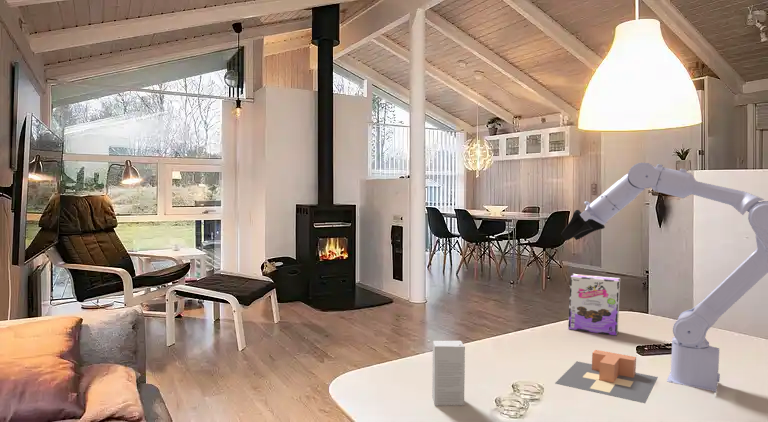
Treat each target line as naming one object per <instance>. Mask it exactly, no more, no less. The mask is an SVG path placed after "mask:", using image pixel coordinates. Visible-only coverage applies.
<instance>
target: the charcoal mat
mask: <svg viewBox="0 0 768 422" xmlns="http://www.w3.org/2000/svg"><path fill="white" fill-rule="evenodd" d="M599 373H600V371H596V370H592V363H588V362H581V361H575V362H574V363H573V364H572V366H570V368H569V369H568V370H566V371H565V373H563V375H562V376H560V377H559V378H558V379H557V380H556V381H555V382H554V384H555V385H561V386H565V387H570V388H574V389H579V390H583V391H588V392H592V393H597V394H600V395H606V396H611V397H615V398H619V399H622V400H623V399H624V400H628V401H632V402H638V403H641V404H646V402H647V400H648V399H649V396H650V394H651V391H652V389H653V387H654V386H655V383H656V381H657V380H658V376H656V375H650V374H644V373H639V372H636V374H635V376H634V377H633V378H632V377H627V376H622V375H619V376H618V377H617V379H616V380H615V381H614V383H612V382H608V381H603V380H599Z"/></svg>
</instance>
